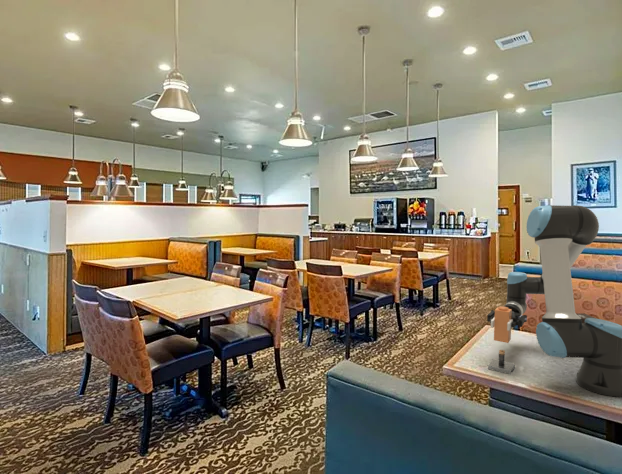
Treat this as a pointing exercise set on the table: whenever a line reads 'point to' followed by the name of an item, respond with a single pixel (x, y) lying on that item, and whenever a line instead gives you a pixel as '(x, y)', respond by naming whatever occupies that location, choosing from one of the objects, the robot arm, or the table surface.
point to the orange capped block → (502, 324)
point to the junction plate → (502, 368)
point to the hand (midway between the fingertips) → (500, 325)
